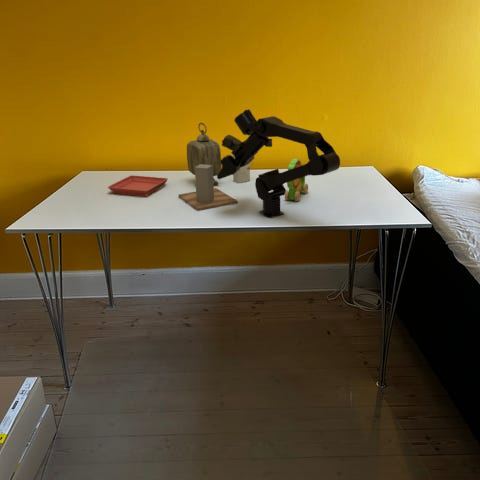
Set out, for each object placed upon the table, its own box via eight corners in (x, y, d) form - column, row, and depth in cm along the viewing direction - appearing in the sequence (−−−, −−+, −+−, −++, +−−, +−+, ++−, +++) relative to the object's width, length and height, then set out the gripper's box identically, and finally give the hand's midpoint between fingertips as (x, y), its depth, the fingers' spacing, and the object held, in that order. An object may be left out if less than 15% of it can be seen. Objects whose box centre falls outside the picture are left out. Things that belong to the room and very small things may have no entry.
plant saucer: (131, 182, 204) (130, 174, 203) (169, 185, 199) (168, 177, 198) (107, 195, 189) (106, 187, 188) (147, 199, 183) (147, 190, 182)
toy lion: (295, 190, 188) (296, 152, 182) (308, 192, 186) (310, 153, 180) (281, 203, 175) (282, 162, 169) (295, 204, 173) (296, 164, 167)
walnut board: (237, 203, 176) (237, 200, 175) (197, 210, 169) (197, 208, 168) (215, 190, 190) (215, 187, 190) (178, 197, 183) (178, 194, 183)
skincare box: (238, 183, 198) (237, 154, 193) (232, 180, 202) (231, 152, 197) (250, 180, 201) (250, 152, 196) (244, 178, 205) (244, 150, 200)
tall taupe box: (209, 203, 173) (207, 168, 168) (196, 201, 175) (194, 167, 170) (214, 199, 177) (212, 165, 172) (202, 198, 179) (200, 164, 173)
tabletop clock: (222, 185, 195) (219, 124, 185) (202, 189, 191) (198, 126, 181) (206, 177, 207) (203, 119, 197) (187, 180, 203) (183, 121, 193)
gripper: (245, 122, 168) (218, 151, 177) (225, 133, 152) (196, 164, 161) (266, 146, 169) (238, 174, 177) (248, 159, 153) (218, 188, 161)
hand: (223, 174), depth 169 cm, fingers open, 9 cm apart
